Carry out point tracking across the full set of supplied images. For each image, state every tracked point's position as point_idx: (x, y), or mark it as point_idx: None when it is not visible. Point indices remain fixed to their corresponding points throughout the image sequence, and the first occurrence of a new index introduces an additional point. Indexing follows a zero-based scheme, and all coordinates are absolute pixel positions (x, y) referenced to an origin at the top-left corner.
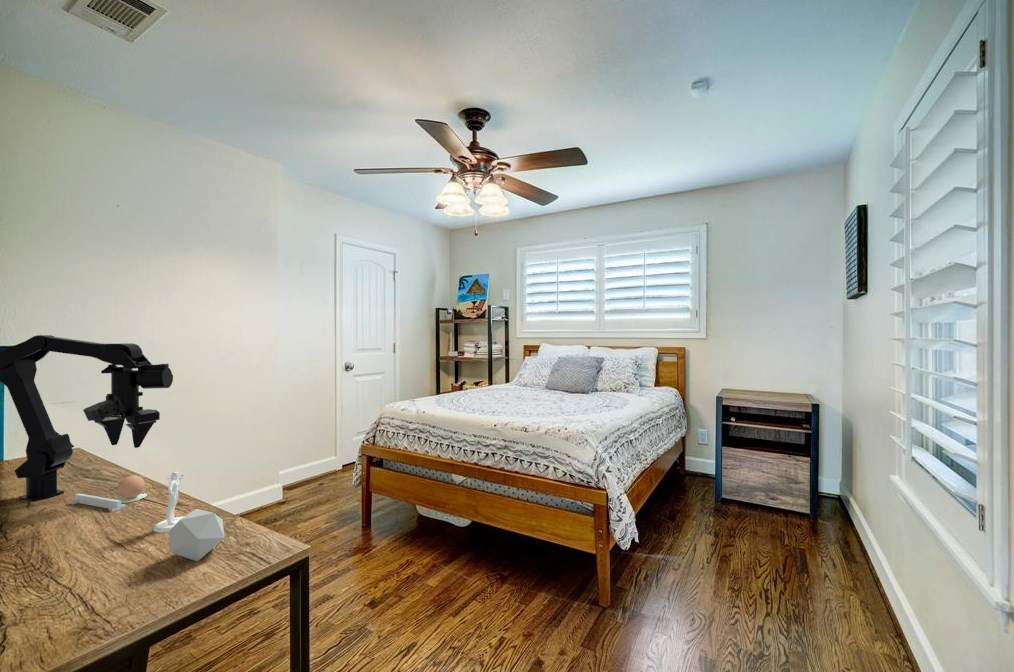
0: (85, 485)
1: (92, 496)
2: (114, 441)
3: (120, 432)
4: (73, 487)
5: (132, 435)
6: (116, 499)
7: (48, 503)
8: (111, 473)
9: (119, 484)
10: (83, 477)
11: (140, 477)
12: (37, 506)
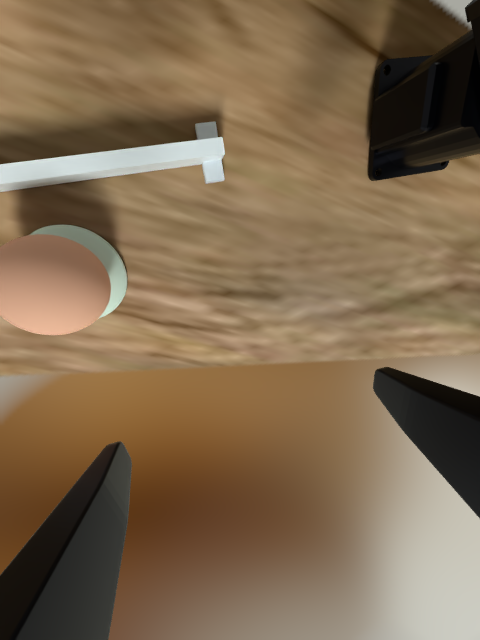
0: (386, 253)
1: (116, 160)
2: (395, 395)
3: (458, 489)
4: (401, 225)
5: (25, 602)
6: (98, 237)
7: (301, 87)
8: (422, 333)
9: (30, 244)
10: (463, 280)
11: (36, 331)
12: (301, 41)
